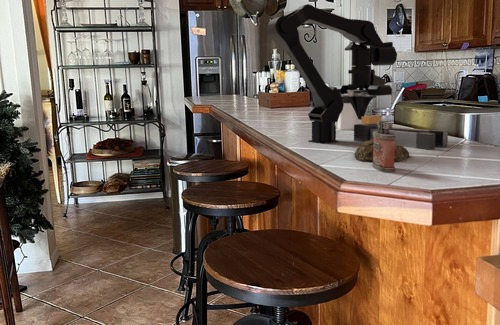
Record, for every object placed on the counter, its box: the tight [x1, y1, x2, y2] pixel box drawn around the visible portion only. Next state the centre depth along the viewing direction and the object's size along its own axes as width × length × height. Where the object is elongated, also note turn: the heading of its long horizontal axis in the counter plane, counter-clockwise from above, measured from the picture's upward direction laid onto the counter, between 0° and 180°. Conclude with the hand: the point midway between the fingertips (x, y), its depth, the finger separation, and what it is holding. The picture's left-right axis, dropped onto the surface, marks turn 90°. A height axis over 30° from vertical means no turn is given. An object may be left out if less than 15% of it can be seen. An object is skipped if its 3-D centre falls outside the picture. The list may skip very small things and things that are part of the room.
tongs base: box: [353, 123, 436, 151], centre depth 132 cm, size 9×25×5 cm, turn 33°
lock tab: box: [361, 114, 382, 124], centre depth 140 cm, size 5×3×2 cm, turn 123°
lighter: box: [371, 120, 396, 174], centre depth 100 cm, size 8×3×10 cm, turn 5°
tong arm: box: [389, 126, 449, 149], centre depth 131 cm, size 2×19×4 cm, turn 38°
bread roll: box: [353, 140, 411, 163], centre depth 113 cm, size 13×12×5 cm
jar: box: [337, 94, 363, 131], centre depth 172 cm, size 9×8×12 cm
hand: (360, 119), depth 144 cm, fingers closed
